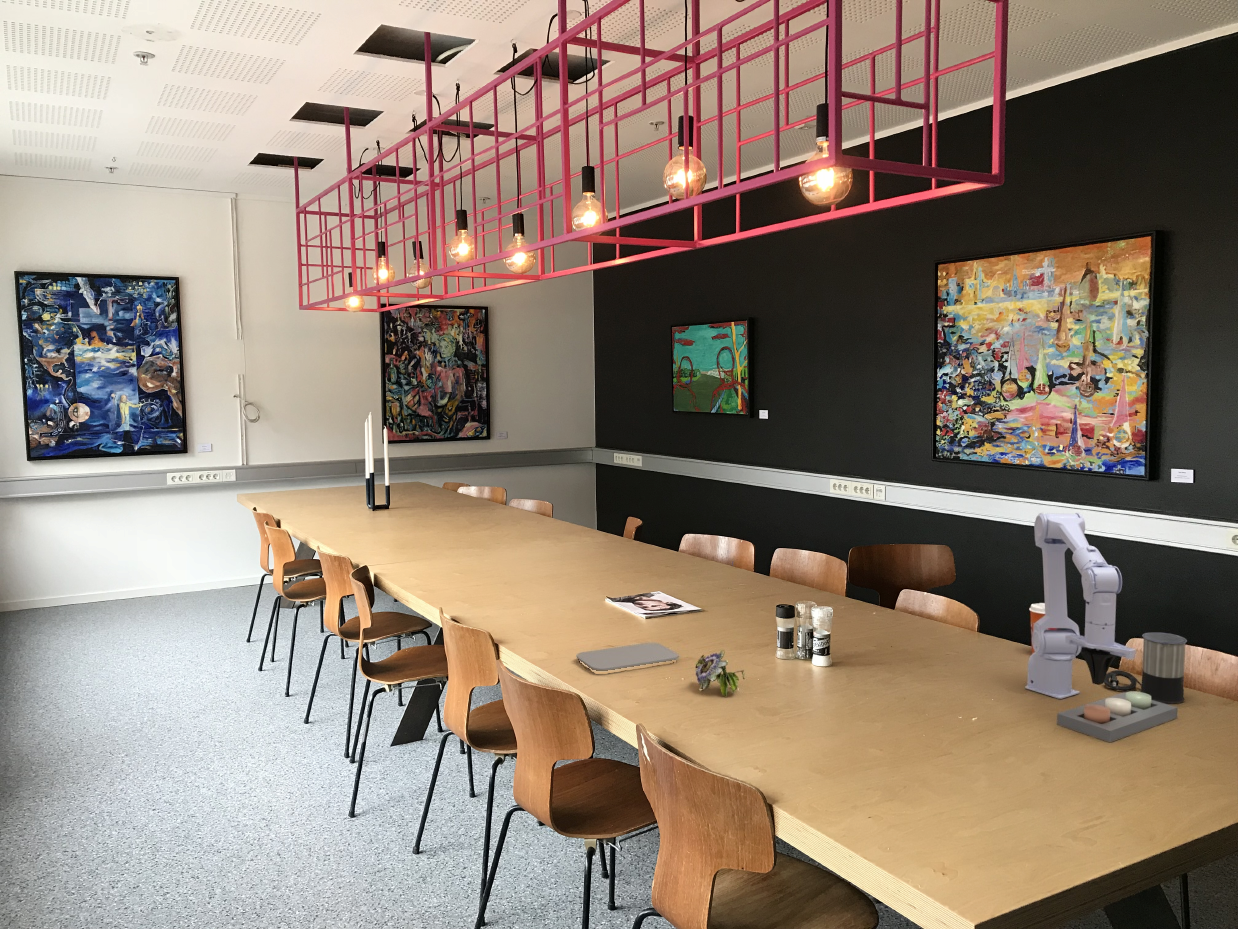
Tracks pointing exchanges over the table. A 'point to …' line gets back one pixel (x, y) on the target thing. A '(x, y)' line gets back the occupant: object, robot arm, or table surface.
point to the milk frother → (1157, 669)
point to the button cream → (1118, 706)
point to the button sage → (1139, 699)
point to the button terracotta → (1097, 713)
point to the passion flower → (716, 673)
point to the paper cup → (1037, 616)
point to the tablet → (626, 656)
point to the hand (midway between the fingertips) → (1098, 683)
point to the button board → (1117, 720)
